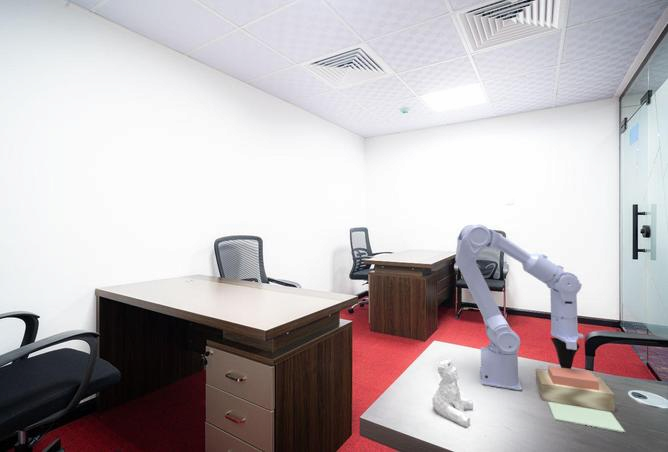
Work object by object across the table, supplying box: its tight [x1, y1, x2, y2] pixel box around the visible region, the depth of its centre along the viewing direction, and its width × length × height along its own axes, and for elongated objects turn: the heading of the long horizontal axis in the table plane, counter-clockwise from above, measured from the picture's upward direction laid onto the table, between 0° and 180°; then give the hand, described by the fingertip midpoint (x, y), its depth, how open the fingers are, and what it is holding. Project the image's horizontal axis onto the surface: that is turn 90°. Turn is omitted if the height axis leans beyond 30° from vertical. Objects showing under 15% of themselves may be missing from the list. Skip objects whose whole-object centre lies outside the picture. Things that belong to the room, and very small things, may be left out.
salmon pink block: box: [547, 365, 599, 390], centre depth 80 cm, size 9×6×2 cm, turn 66°
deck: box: [535, 368, 616, 413], centre depth 80 cm, size 14×9×4 cm, turn 66°
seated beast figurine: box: [431, 359, 474, 428], centre depth 74 cm, size 10×9×12 cm
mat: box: [547, 401, 626, 434], centre depth 72 cm, size 12×8×1 cm, turn 66°
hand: (565, 367), depth 86 cm, fingers closed
